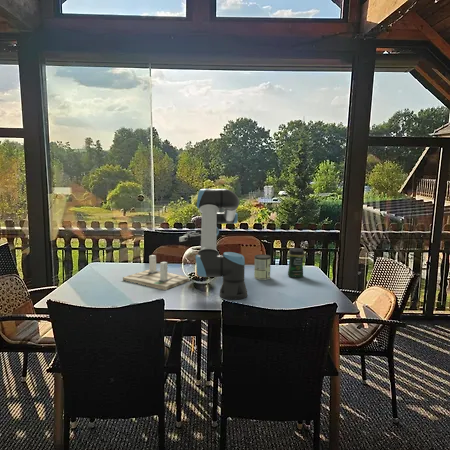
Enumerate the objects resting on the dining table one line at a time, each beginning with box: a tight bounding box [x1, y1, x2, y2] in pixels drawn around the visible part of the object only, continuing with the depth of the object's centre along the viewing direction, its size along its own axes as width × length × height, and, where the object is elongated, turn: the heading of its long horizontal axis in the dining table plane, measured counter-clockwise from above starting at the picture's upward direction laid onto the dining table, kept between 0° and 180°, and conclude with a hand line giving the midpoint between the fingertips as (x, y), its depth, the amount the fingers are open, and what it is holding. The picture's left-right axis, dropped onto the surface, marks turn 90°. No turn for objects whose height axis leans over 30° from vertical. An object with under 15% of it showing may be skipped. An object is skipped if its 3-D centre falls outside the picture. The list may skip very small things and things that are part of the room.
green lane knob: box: [159, 261, 169, 282], centre depth 236 cm, size 5×4×11 cm
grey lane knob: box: [148, 254, 159, 274], centre depth 254 cm, size 5×4×11 cm
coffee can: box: [253, 253, 272, 281], centre depth 253 cm, size 10×10×14 cm
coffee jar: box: [287, 247, 305, 279], centre depth 257 cm, size 10×8×19 cm
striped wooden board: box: [122, 269, 190, 291], centre depth 246 cm, size 24×34×2 cm
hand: (180, 239), depth 247 cm, fingers closed
